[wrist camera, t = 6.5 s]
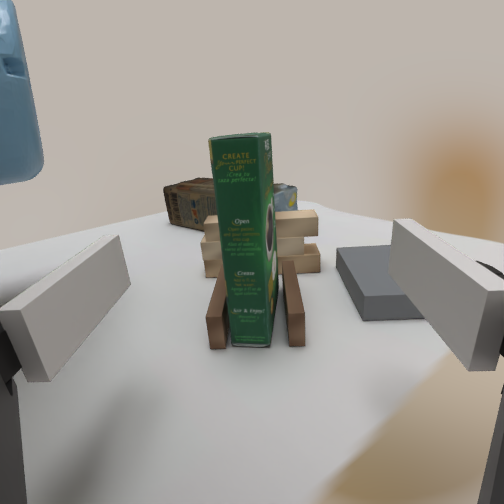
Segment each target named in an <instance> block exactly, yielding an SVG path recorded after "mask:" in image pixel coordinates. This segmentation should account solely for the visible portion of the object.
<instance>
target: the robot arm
mask: <svg viewBox="0 0 504 504" xmlns="http://www.w3.org/2000/svg"><path fill="white" fill-rule="evenodd" d="M43 164H44V156H43V149H42V143H41V137H40V131H39V126H38V120H37V115H36V110H35V105H34V99H33V94H32V89H31V84H30V78H29V73H28V68H27V63H26V58H25V52H24V47H23V42H22V37H21V34H20V29H19V24H18V20H17V15H16V9H15V6H14V4H13V2H12V1H11V0H0V185H4V184H11V183H17V182H23V181H27V180H30V179H32V178H34V177H35V176H36V175H37V174H38V173H39V172H40V171H41V170H42V167H43ZM388 273H389V275H390V276H391V277H392V278H393V280H394V281H395V282H396V283H397V284H398V286H399V287H400V288H401V289H402V291H403V292H404V293H405V294H406V295H407V297H408V298H409V299H410V300H411V302H412V303H413V304H414V305H415V306H416V308H417V309H418V310H419V311H420V313H421V314H422V315H423V316H424V318H425V319H426V320H427V321H428V322H429V324H430V325H431V326H432V327H433V329H434V330H435V331H436V332H437V333H438V335H439V336H440V337H441V338H442V340H443V341H444V342H445V343H446V345H447V346H448V347H449V348H450V349H451V351H452V352H453V353H454V354H455V355H456V357H457V358H458V359H459V360H460V361H461V363H462V364H463V365H464V367H465V368H466V369H467V370H468V371H495V369H496V366H497V362H498V359H499V356H500V354H501V355H502V356H503V357H504V275H503V273H502V272H500V271H498V270H497V269H495V268H494V267H492V266H490V265H487V264H484V263H482V262H479V261H474V260H473V259H471V258H470V257H468V256H467V255H465V254H464V253H462V252H461V251H459V250H458V249H456V248H455V247H453V246H452V245H450V244H449V243H447V242H446V241H444V240H443V239H441V238H440V237H438V236H437V235H435V234H434V233H432V232H431V231H429V230H428V229H426V228H424V227H423V226H421V225H420V224H418V223H417V222H415V221H414V220H412V219H410V218H409V219H394V221H393V231H392V240H391V250H390V259H389V269H388ZM130 285H131V282H130V278H129V274H128V270H127V266H126V262H125V258H124V254H123V250H122V246H121V242H120V238H119V235H104V236H102V237H101V238H99V239H98V240H96V241H95V242H94V243H92V244H91V245H89V246H88V247H86V248H85V249H84V250H82V251H81V252H79V253H78V254H76V255H75V256H74V257H72V258H71V259H69V260H68V261H66V262H65V263H63V264H62V265H61V266H59V267H58V268H56V269H55V270H53V271H52V272H51V273H49V274H48V275H46V276H45V277H43V278H42V279H41V280H39V281H38V282H36V283H35V284H33V285H32V286H31V287H29V288H28V289H26V290H25V291H23V292H22V293H21V294H19V295H18V296H16V297H15V298H13V299H12V300H10V301H9V302H8V303H6V304H5V305H3V306H2V307H0V504H27V497H26V485H25V474H24V463H23V451H22V440H21V429H20V417H19V406H18V395H17V385H16V383H15V381H14V379H13V376H14V375H15V374H16V373H17V372H18V371H19V370H20V369H21V368H22V371H23V373H24V375H25V377H26V379H27V382H50V381H51V380H52V379H53V378H54V376H55V375H56V374H57V373H58V372H59V370H60V369H61V368H62V367H63V366H64V364H65V363H66V362H67V361H68V360H69V358H70V357H71V356H72V355H73V354H74V352H75V351H76V350H77V349H78V348H79V346H80V345H81V344H82V343H83V342H84V340H85V339H86V338H87V337H88V336H89V334H90V333H91V332H92V331H93V330H94V328H95V327H96V326H97V325H98V324H99V322H100V321H101V320H102V319H103V317H104V316H105V315H106V314H107V313H108V311H109V310H110V309H111V308H112V307H113V305H114V304H115V303H116V302H117V301H118V299H119V298H120V297H121V296H122V295H123V293H124V292H125V291H126V290H127V289H128V287H129V286H130ZM501 394H502V398H501V403H500V407H499V411H498V415H497V420H496V424H495V429H494V433H493V438H492V442H491V446H490V451H489V455H488V459H487V464H486V468H485V473H484V477H483V481H482V486H481V490H480V495H479V499H478V503H477V504H504V385H503V388H502V392H501Z"/></svg>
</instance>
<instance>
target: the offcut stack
mask: <svg viewBox="0 0 504 504" xmlns="http://www.w3.org/2000/svg"><path fill="white" fill-rule="evenodd" d="M275 219H276V236H277V257H278V274H282V261H290V260H294V265H295V270H296V273H312V272H320V253H319V250H318V248H317V246H316V243H311V244H304V237H308V236H318V216H317V214H316V212H315V210H298V211H281V212H275ZM204 232H205V235H204V237H203V239H202V241H201V250H202V257H203V260H204V266H205V273H206V278H208V277H218V274H219V271H220V267H221V264H223V261H222V251H221V242H220V233H219V225H218V217H217V215H214V216H208V217H207V219H206V220H205V222H204Z"/></svg>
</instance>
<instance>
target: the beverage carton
mask: <svg viewBox="0 0 504 504" xmlns="http://www.w3.org/2000/svg"><path fill="white" fill-rule="evenodd" d="M163 191H164V196H165V202H166V206H167V211H168V216H169V220H170V223H171V224H175V225H179V226H184V227H189V228H193V229H198V230H202V231H204V222H205V220H206V219H207V217H208V216H214V215H217V208H216V200H215V191H214V182H213V179H212V178H196V179H194V180H189V181H184V182H180V183H178V184H174V185H170V186H166V187H164V189H163ZM274 202H275V212H281V211H298V209H297V188H296V187H295V186H289V185H286V184H283V183H281V184H274Z"/></svg>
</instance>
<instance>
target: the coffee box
mask: <svg viewBox="0 0 504 504" xmlns="http://www.w3.org/2000/svg"><path fill="white" fill-rule="evenodd" d="M208 142H209V150H210V160H211V167H212V174H213V182H214V191H215V200H216V208H217V217H218V225H219V233H220V242H221V251H222V261H223V269H224V278H225V286H226V295H227V298H226V300H227V306H228V315H229V324H230V334H231V343H232V344H233V345H236V346H250V347H264V346H267V345H270V343H271V336H272V331H273V321H274V315H275V309H276V302H277V296H278V289H279V282H278V257H277V236H276V219H275V202H274V184H273V165H272V146H271V134H270V133H269V132H266V133H247V134H235V135H226V136H218V137H213V138H209V141H208Z"/></svg>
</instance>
